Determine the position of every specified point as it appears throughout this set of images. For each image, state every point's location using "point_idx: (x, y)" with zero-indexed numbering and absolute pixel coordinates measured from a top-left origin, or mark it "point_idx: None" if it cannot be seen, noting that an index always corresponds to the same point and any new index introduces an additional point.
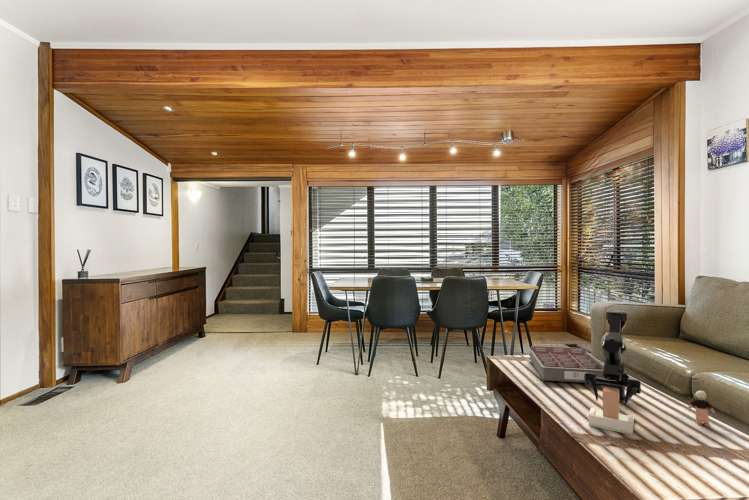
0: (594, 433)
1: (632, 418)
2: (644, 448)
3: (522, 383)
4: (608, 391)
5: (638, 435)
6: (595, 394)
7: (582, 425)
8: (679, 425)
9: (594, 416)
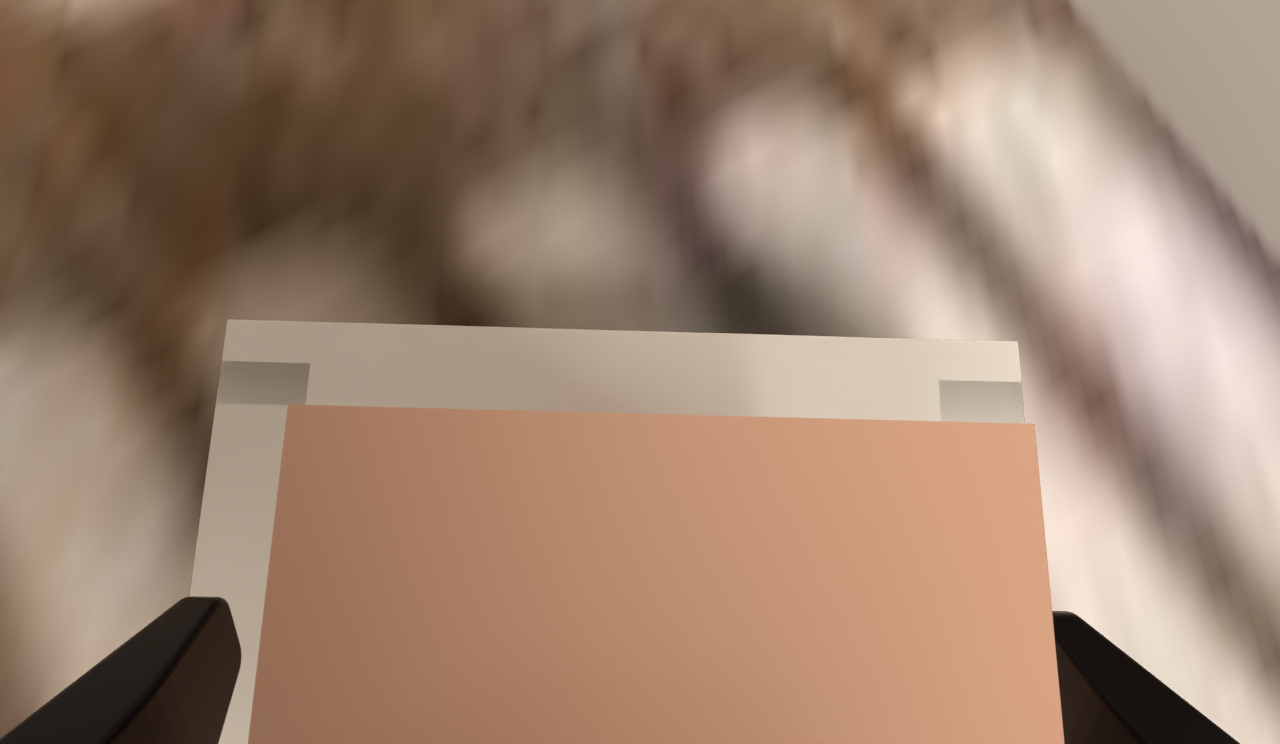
0: (813, 143)
1: None
2: (198, 9)
3: None
4: (768, 513)
5: None
6: (1206, 729)
7: None
8: None
9: (906, 340)
